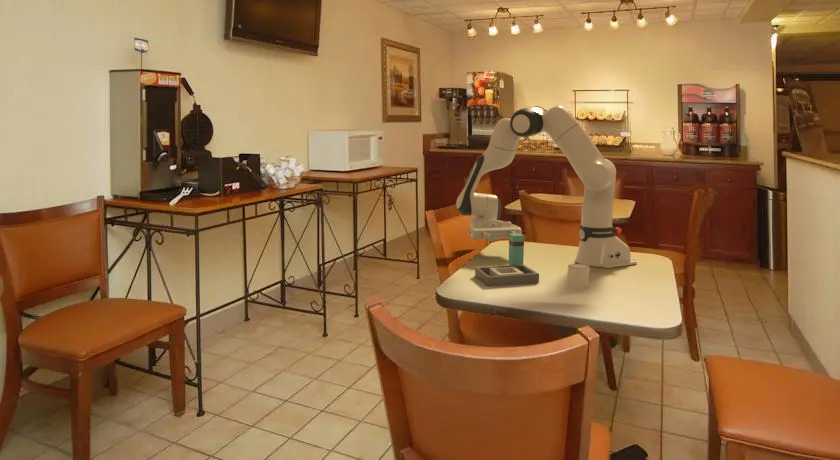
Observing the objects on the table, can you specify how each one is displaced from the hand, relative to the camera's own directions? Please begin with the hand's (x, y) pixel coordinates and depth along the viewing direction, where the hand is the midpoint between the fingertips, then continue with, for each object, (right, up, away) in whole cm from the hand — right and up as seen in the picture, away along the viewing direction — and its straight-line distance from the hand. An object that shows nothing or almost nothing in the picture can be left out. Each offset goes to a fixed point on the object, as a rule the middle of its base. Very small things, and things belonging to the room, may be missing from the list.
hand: (502, 236), depth 214 cm
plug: (+3, -12, -10) cm, 16 cm away
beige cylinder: (+20, -16, -32) cm, 41 cm away
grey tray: (-2, -14, -23) cm, 27 cm away
